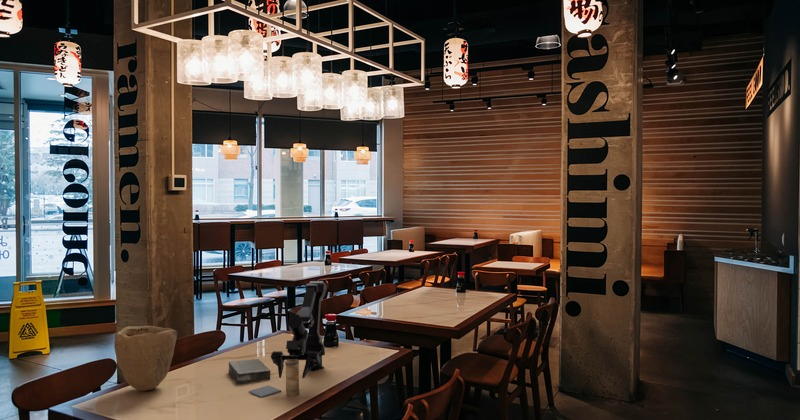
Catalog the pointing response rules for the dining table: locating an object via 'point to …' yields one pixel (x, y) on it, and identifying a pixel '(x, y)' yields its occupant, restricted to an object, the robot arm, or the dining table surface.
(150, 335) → the bowl
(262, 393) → the slate mat
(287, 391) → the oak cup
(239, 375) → the stone block
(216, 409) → the dining table surface
